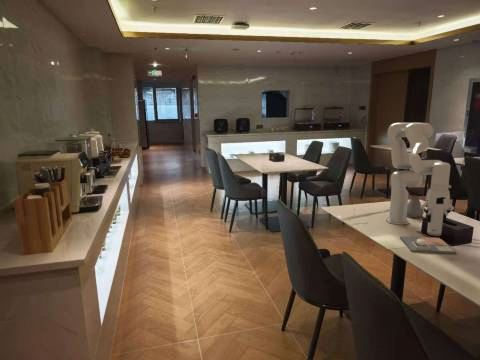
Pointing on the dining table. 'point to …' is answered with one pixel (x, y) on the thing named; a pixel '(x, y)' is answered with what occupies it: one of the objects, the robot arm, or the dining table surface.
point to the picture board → (427, 245)
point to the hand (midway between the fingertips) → (435, 221)
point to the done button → (421, 242)
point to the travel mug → (436, 218)
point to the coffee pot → (414, 207)
